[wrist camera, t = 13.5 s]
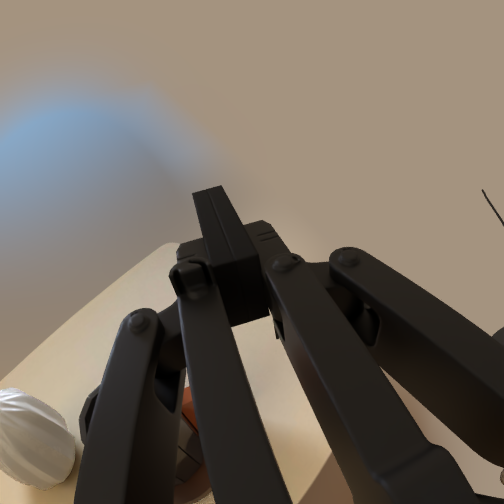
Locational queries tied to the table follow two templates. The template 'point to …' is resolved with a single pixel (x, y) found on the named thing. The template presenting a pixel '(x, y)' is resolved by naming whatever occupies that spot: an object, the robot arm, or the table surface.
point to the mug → (188, 435)
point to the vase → (33, 441)
